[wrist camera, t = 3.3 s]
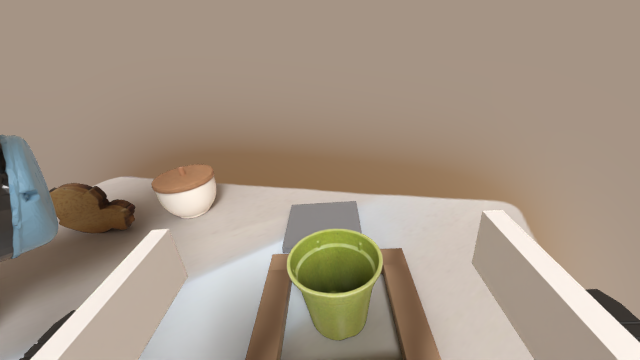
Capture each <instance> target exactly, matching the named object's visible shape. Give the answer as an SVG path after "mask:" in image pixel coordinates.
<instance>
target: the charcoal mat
mask: <svg viewBox="0 0 640 360" xmlns="http://www.w3.org/2000/svg"><path fill="white" fill-rule="evenodd" d="M327 229H347V230H353V231H357V232H359V233H361V234H362V232H361V226H360V221H359V215H358V209H357V204H356V201H350V202H334V203H317V204H300V205H292V207H291V211H290V215H289V220H288V224H287V229H286V233H285V238H284V242H283V247H282V249H283V253H290V252H291V250H292V248H293V247H294V246H295V245H296V244H297V243H298V242H299V241H300V240H302V239H303V238H305V237H306V236H309V235H311V234H313V233H315V232H318V231H322V230H327Z"/></svg>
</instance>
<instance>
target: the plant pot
mask: <svg viewBox="0 0 640 360" xmlns="http://www.w3.org/2000/svg"><path fill="white" fill-rule="evenodd" d="M382 266H383V258H382V253H381V251H380V249H379V247H378V246H377V244H376V243H375V242H374V241H373V240H372V239H370V238H369V237H367V236H366V235H364V234H361V233H359V232H357V231H353V230H347V229H327V230H322V231H318V232H315V233H313V234H311V235H309V236H306V237H305V238H303V239H302V240H300V241H299V242H298V243H297V244H296V245H295V246H294V247H293V248H292V250H291V252H290V254H289V256H288V259H287V271H288V274H289V277H290V279H291V280H292V282H293V283H294V284H295V285H296V286H297V287H298V288H299V289H300V291H301V292H302V294H303V297H304V299H305V302H306V305H307V307H308V310H309V313H310V315H311V318H312V321H313V323H314V326H315V327H316V329H317V330H318V331H319V332H320V333H321V334H322V335H323V336H325V337H327V338H329V339H333V340H343V339H345V338H348V337H352V336H355V335H357V334H358V333H359V332H360V331H361V330H362V329H363V327H364V325H365V323H366V318H367V313H368V307H369V302H370V297H371V292H372V287H373V285H374V284H375V281H376V280H377V279H378V277H379V275H380V273H381V270H382Z"/></svg>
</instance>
